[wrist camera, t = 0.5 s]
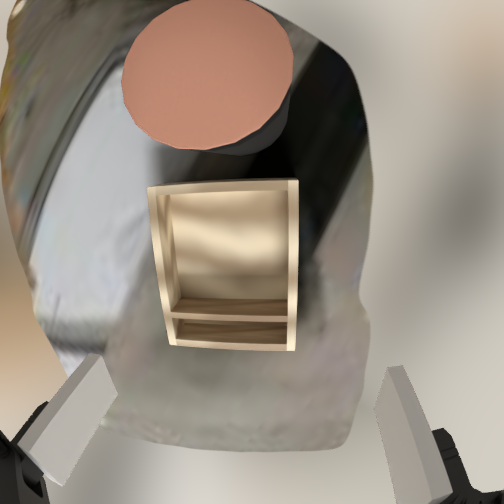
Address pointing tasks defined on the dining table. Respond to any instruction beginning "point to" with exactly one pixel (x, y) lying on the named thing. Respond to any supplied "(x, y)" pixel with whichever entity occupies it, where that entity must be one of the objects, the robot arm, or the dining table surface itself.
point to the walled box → (227, 261)
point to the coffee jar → (211, 77)
